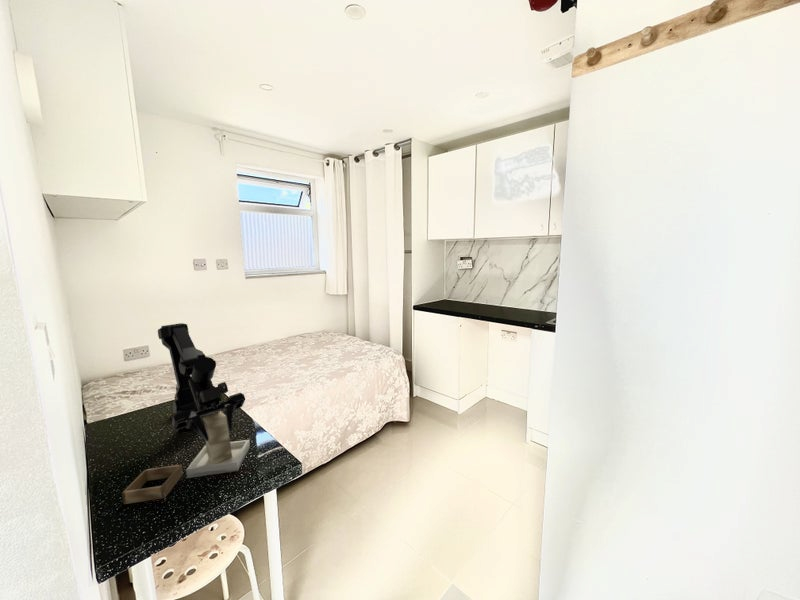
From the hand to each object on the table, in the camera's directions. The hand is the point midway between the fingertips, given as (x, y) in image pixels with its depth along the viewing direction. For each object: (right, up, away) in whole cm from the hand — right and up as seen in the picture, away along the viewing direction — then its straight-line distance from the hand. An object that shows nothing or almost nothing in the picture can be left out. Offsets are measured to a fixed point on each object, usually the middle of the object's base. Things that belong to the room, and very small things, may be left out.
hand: (219, 435), depth 92 cm
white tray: (-1, -8, +2) cm, 9 cm away
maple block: (-1, -7, +2) cm, 8 cm away
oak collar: (-12, -10, -9) cm, 18 cm away
